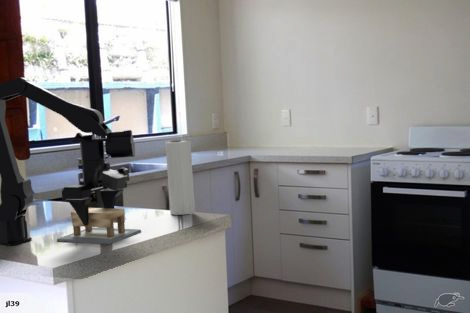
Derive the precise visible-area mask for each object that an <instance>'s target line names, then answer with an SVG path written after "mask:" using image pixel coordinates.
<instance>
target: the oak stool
mask: <svg viewBox="0 0 470 313" xmlns="http://www.w3.org/2000/svg"><path fill="white" fill-rule="evenodd" d="M125 212H126V211H125V208H115V207H114V208H89V224H88V226H85V225H84V224H83V223H82V221H81V219H80V218H79V216H78V214H77V213H76V211H75V210H74V211H70V217H71V224H72V227H73V233H74V236H79V235H81V231H82V230H81V227H84V230H85V232H90V231H92V227H94V228H107V237H109V238H112V237H114V228H115V227H114V224H115V223H116V224H117V229H118V233H125V229H126V227H125V224H126V220H125V214H126V213H125Z"/></svg>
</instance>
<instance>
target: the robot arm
mask: <svg viewBox="0 0 470 313" xmlns="http://www.w3.org/2000/svg"><path fill="white" fill-rule="evenodd" d="M19 96H23V97H25V98H27V99H28V100H31V101H32V102H34V103H36V104H38V105H41V106H42V107H44V108H47V109H48V110H50V111H52V112H55V114H58V115H60V116H62V117H63V118H64V119H65V120H67V121H68V122H69V123H70V124H71V125H72V126H74V127H75V128H77V129H78V130H79V131H81V132H83V133H85V134H84V135H83V134H82V133H81V132H76V134H75V136H74V137H73V138H72V139H71V141H70V142H71V143H72V144H75V143H76V144H77V143H78V144H79V148H80V158H81V160H82V161H81V162H82V164H81V165H79V164H78V166H77V167H78V170H81V171H82V172H81V173H82V174H83V179H82V180H80V185H79V184H73V185H68V186H63V188H62V189H61V199H62V200H65V201H66V202H68V203H69V205H70V206H71V207H72V208H73V210H74V211H76V213H77V214H78V216H79V218H80V219H81V221H82V223H83V224H84V225H85V226H88V224H89V208H88V205H89V203H90V201H91V200H92V198H88V197H90V195H91V192H95V191H99V190H101V191H100V194H101V198H102V201H103V205H104V208H115V206H116V203H117V202H116V201H117V200H118V196H119V195H121V193H123V192H124V191H125V188H127V187H128V182H130V172H129V168H126V167H120V168H118V169H112V168H111V164H110V162H106V155H107V156H110V158H111V159H123V158H125V159H126V158H135V156H136V142H135V141H134V135H133V130H132V129H126V130H122V131H112V130H111V128H110V127H109V126H108V125H107V124H106V123H105V122H104V116H103V114H102V113H101V112H100V111H99V110H97V109H94V108H91V107H88V106H85V105H81V104H77V103H73V102H71V101H70V100H67V99H65V98H63V97H61V96H59V95H58V94H55V93H53V92H51V91H49V90H48V89H46V88H43V87H42V86H40V85H38V84H36V83H34V82H32V81H31V80H29V78H25V77H15V78H13V79H10V80H7V81H3V82H0V180H1V181H0V245H1V246H15V245H18V244H22V243H25V242H29V241H31V240H32V239H33V238H32V237H29V235H28V234H29V233H28V223H27V220H26V213H27V210H28V208H29V207H30V206H31V205H32V203H33V202H34V195H35V194H36V193H35V191H34V190H33V188H32V187H33V186H32V180H31V179H30V178H28V179H26V180H25V178H24V177H23V176H22V174H21V173H20V172H21V171H20V169H19V165H18V162H17V158H16V154H15V151H14V147H13V144H12V140H11V138H10V137H11V136H10V133H9V129H8V125H7V123H6V110H7V106H6V101H9V100H12V99H15V98H16V97H19ZM95 135H96V136H97V137H101V138H96V136H95ZM103 137H105V138H103ZM105 153H106V154H105Z"/></svg>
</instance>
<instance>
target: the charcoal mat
mask: <svg viewBox="0 0 470 313" xmlns="http://www.w3.org/2000/svg"><path fill="white" fill-rule="evenodd" d="M139 233H142V230H141V229H135V228H133V229H132V228H131V229H130V228H125V233H118V228H117V227H114V237H112V238H109V237H107V228H106V227H92V231H90V232H85V229H82V230H81V235H79V236H74V232H73V233H70V234H67V235H64V236H61V237H58V238H56V242H64V241H69V242H68V243H81V242H85V243H86V244H97V243H99V244H101V245H111V244H113V243H117V242H119V241H122V240H123V239H126V238H129V237H131V236H134V235H137V234H139Z"/></svg>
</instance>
